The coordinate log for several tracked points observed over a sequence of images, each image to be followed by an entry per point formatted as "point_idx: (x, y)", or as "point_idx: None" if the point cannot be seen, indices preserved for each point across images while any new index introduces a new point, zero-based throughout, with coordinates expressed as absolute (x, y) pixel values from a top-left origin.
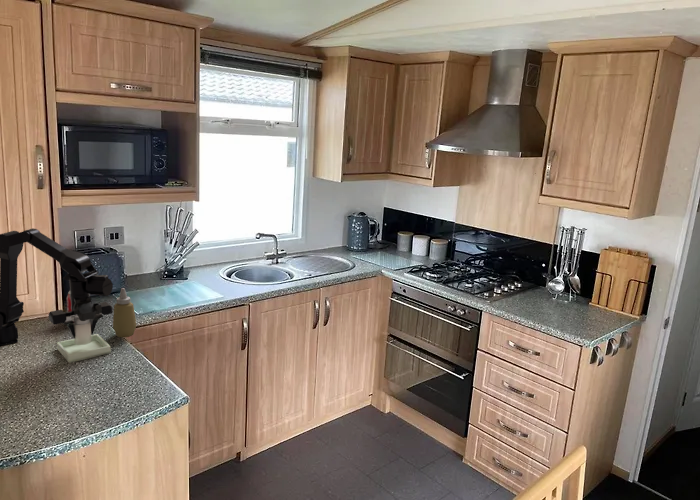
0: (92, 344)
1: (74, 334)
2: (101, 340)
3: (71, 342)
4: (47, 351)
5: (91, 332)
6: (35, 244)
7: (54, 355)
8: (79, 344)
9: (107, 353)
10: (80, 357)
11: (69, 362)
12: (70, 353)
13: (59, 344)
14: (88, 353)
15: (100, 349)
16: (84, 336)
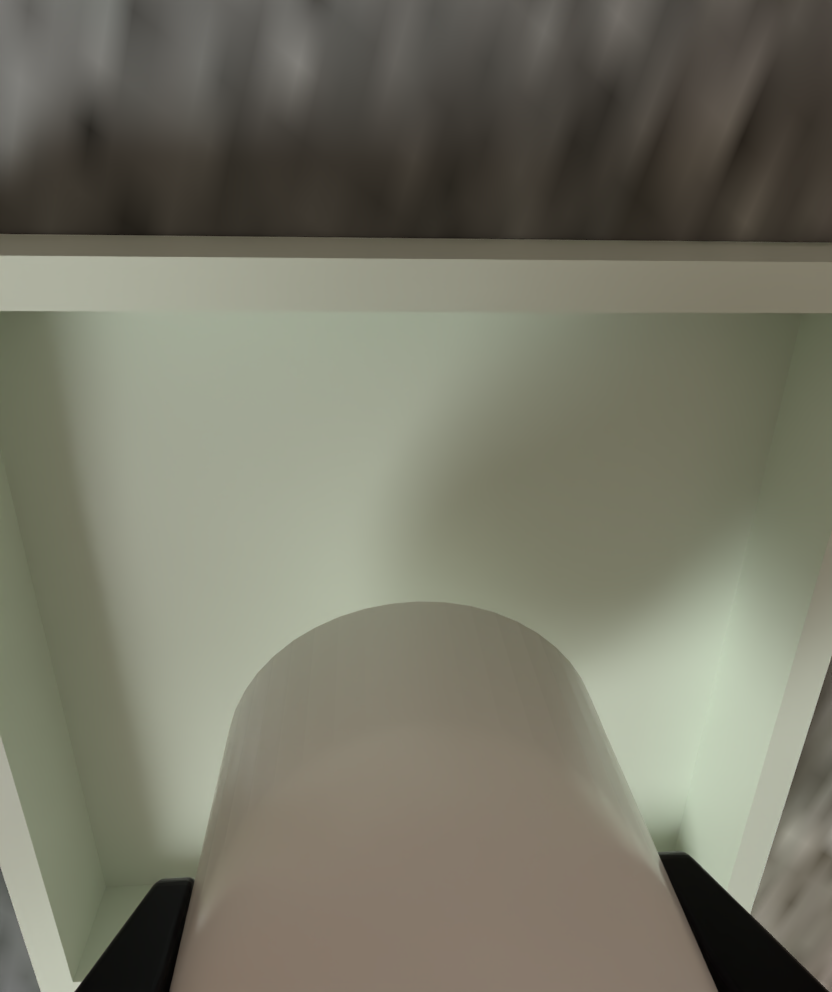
0: (211, 755)
1: (739, 967)
2: (16, 744)
3: None
4: (813, 841)
5: (170, 949)
6: None
7: (822, 685)
8: (552, 648)
9: (5, 236)
10: (624, 250)
11: (827, 242)
12: (655, 591)
13: (753, 879)
14: (449, 248)
15: (122, 255)
16: (466, 780)
